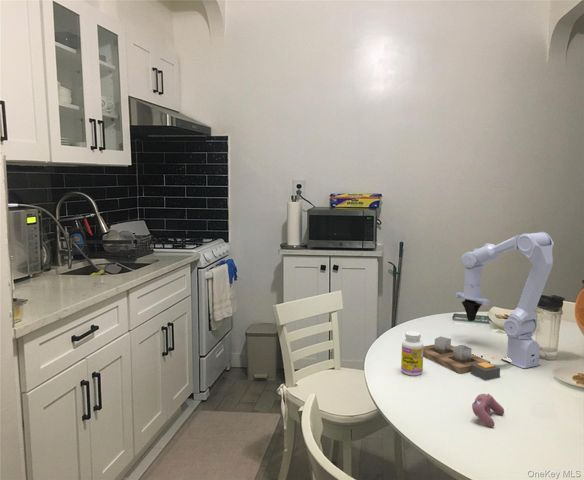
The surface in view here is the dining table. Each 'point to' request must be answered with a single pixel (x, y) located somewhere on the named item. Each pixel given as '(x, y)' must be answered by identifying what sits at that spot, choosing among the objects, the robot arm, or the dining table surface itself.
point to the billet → (462, 354)
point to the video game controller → (486, 408)
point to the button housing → (485, 372)
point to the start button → (485, 365)
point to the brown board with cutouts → (450, 360)
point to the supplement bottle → (412, 354)
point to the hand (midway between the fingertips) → (471, 320)
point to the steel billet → (442, 345)
